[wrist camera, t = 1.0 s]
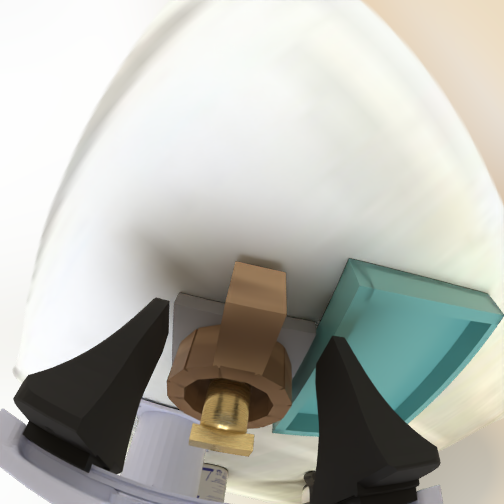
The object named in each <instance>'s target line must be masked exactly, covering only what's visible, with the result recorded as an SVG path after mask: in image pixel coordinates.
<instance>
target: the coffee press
mask: <svg viewBox="0 0 504 504" xmlns="http://www.w3.org/2000/svg"><path fill="white" fill-rule="evenodd" d="M315 474H316V472H315V471H312V472H309V473H306V474H305V475H304V480H305V481H306V483H307V485H305V486H304V487H303V492H302V500H301V504H310V501H311V497H312V492H313V487H314V481H315Z"/></svg>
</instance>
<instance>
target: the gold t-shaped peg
mask: <svg viewBox="0 0 504 504" xmlns="http://www.w3.org/2000/svg"><path fill="white" fill-rule="evenodd" d="M251 387H252V385H251V384H249V383H245V382H240V381H235V380H230V379H225V378H212V379H210V381H209V386H208V390H207V395H206V399H205V403H204V408H203V412H202V417H201V421H200V425H199V424H195V423H193V424H192V429H191V433H190V437H189V445H190V446H194V447H198V448H203V449H208V450H213V451H218V452H223V453H229V454H235V455H242V456H249V455H250V454H251V453H252V451H253V442H254V435H253V434H246V433H247V424H248V415H249V405H250V396H251Z"/></svg>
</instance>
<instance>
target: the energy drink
mask: <svg viewBox="0 0 504 504" xmlns="http://www.w3.org/2000/svg"><path fill="white" fill-rule="evenodd" d="M227 476H228V472H227V471H226V469H224V468H222V467H219V466H216V465H211V464H204V463H203V467H202V473H201V478H200V483H199V488H198V493H197V498H199V499H204V500H209V501H215V502H221V503H224V496H225V490H226V483H227Z"/></svg>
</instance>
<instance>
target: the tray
mask: <svg viewBox="0 0 504 504" xmlns="http://www.w3.org/2000/svg"><path fill="white" fill-rule="evenodd" d="M503 317H504V314H503V313H502V311H501V310H500V309H499V307H498V306H497V305H496V303H495V302H494V301H493V299H492V298H491V297H490V296H489V294H487V293H483V292H480V291H476V290H472V289H469V288H465V287H461V286H457V285H453V284H450V283H446V282H442V281H438V280H434V279H430V278H427V277H423V276H419V275H415V274H411V273H407V272H403V271H399V270H395V269H391V268H387V267H383V266H379V265H375V264H371V263H367V262H363V261H359V260H355V259H350V258H349V259H348V262H347V264H346V266H345V269H344V271H343V273H342V276H341V278H340V280H339V283H338V285H337V287H336V289H335V291H334V294H333V296H332V298H331V300H330V302H329V305H328V307H327V309H326V311H325V313H324V315H323V317H322V319H321V321H320V323H319V325H318V327H317V329H316V333H317V334H316V336H315V338H314V340H313V342H312V344H311V346H310V348H309V349H308V351H307V353H306V355H305V357H304V359H303V361H302V363H301V364H300V366H299V368H298V370H297V372H296V374H295V375H294V377H293V379H292V406H291V408H290V409H289V411H288V412H287V414H286V415H285V417H284V418H283V419H281V420H280V421H277V422H275V423H273V429H272V433H279V434H289V435H301V436H317V437H319V421H318V409H317V398H316V386H315V375H316V363H317V361H318V359H319V358H320V356H321V354H322V353H323V351H324V349H325V347H326V346H327V344H328V342H329V340H330V339H331V337H332V336H339V337H345V339H346V341H347V342H348V344H349V345H350V347H351V349H352V351H353V352H354V354H355V356H356V357H357V359H358V361H359V362H360V364H361V366H362V367H363V369H364V371H365V372H366V374H367V375H368V377H369V378H370V380H371V381H372V383H373V384H374V386H375V387H376V389H377V390H378V391H379V393H380V394H381V395H382V397H383V398H384V399H385V400H386V402H387V403H388V404H389V405H390V406H391V408H392V409H393V410H394V411H395V412H396V413H397V414H398V415H399V416H400V417H401V418H402V419H403V420H404V421H405V422H406V423H407V424H408V423H409V422H410V421H412V420H413V419H414V418H415V417H416V416H417V415H418V414H419V413H421V412H422V411H423V410H424V409H425V408H426V407H427V406H428V405H429V404H430V403H431V402H432V401H433V400H434V399H435V398H436V397H437V396H438V395H439V394H440V393H441V392H442V391H443V390H444V389H445V388H446V387H447V386H448V385H449V384H450V383H451V382H452V381H453V380H454V379H455V378H456V377H457V376H458V374H459V373H460V372H461V371H462V370H463V369H464V368H465V366H466V365H467V364H468V363H469V362H470V361H471V359H472V358H473V357H474V356H475V355H476V353H477V352H478V351H479V350H480V348H481V347H482V346H483V344H484V343H485V342H486V341H487V339H488V338H489V337H490V335H491V334H492V332H493V331H494V330H495V328H496V327H497V325H498V324H499V323H500V321H501V320H502V318H503Z"/></svg>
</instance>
